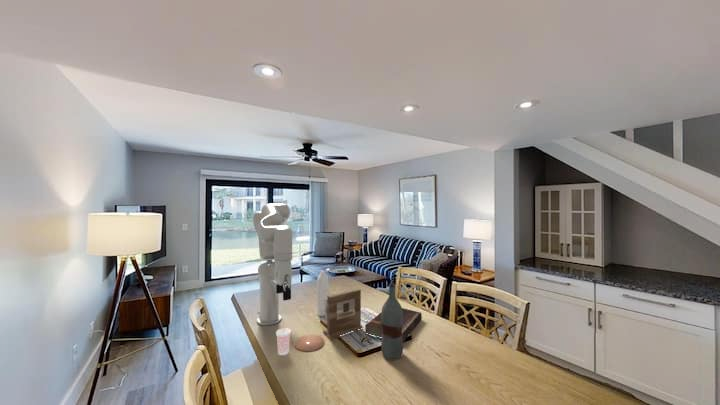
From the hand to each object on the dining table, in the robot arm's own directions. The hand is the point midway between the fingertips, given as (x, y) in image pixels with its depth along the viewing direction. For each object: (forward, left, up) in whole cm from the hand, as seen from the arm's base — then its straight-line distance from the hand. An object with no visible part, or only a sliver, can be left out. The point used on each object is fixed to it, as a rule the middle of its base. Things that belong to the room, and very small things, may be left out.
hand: (283, 296), depth 118 cm
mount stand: (+9, +29, -24) cm, 39 cm away
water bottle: (-13, +39, -24) cm, 48 cm away
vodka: (+39, +25, -24) cm, 53 cm away
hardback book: (+28, +48, -25) cm, 61 cm away
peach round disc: (+4, +11, -24) cm, 27 cm away
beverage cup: (0, 0, -24) cm, 24 cm away
